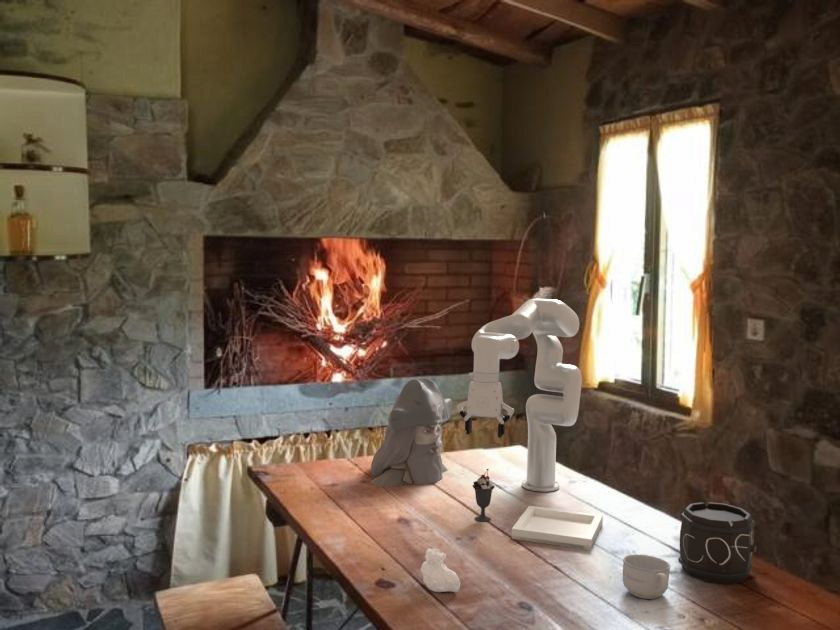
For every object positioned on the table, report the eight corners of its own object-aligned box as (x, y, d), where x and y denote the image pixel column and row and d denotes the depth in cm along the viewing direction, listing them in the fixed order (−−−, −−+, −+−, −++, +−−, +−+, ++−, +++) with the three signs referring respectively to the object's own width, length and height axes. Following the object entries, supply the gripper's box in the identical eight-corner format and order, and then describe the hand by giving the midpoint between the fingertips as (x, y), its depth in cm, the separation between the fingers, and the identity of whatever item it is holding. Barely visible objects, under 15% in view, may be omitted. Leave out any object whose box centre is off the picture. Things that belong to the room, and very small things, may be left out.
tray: (529, 515, 254) (529, 505, 254) (602, 524, 246) (602, 514, 246) (511, 538, 233) (511, 528, 233) (591, 550, 226) (591, 539, 226)
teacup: (615, 585, 203) (617, 553, 202) (659, 584, 204) (660, 552, 203) (635, 610, 189) (636, 575, 189) (681, 609, 190) (683, 575, 189)
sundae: (494, 516, 253) (495, 467, 251) (493, 523, 246) (495, 473, 245) (472, 515, 253) (473, 466, 252) (471, 522, 247) (472, 472, 245)
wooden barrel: (746, 592, 200) (750, 528, 198) (671, 575, 209) (673, 514, 208) (760, 568, 215) (763, 509, 214) (689, 554, 224) (692, 496, 223)
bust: (415, 496, 271) (416, 389, 268) (343, 475, 293) (344, 377, 290) (479, 476, 296) (482, 378, 293) (409, 458, 318) (411, 367, 315)
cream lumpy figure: (420, 590, 203) (399, 561, 198) (438, 565, 207) (418, 537, 201) (455, 606, 194) (434, 577, 189) (473, 580, 198) (453, 551, 193)
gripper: (454, 377, 245) (452, 434, 247) (511, 381, 239) (509, 440, 241) (461, 373, 252) (460, 429, 254) (517, 378, 246) (516, 435, 248)
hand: (484, 435), depth 247 cm, fingers open, 9 cm apart
